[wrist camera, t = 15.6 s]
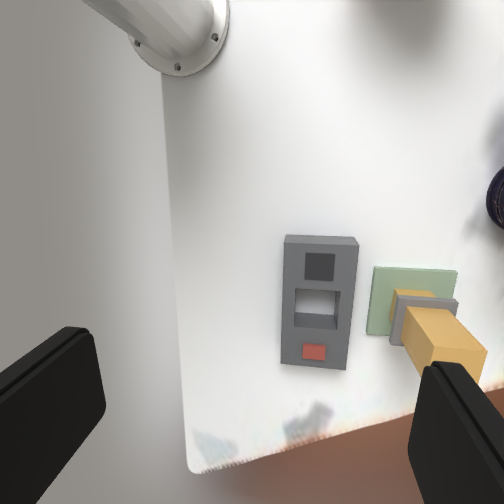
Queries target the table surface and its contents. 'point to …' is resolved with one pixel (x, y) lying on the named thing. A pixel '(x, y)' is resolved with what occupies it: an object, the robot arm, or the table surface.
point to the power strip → (318, 278)
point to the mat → (403, 278)
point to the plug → (433, 331)
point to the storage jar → (496, 198)
